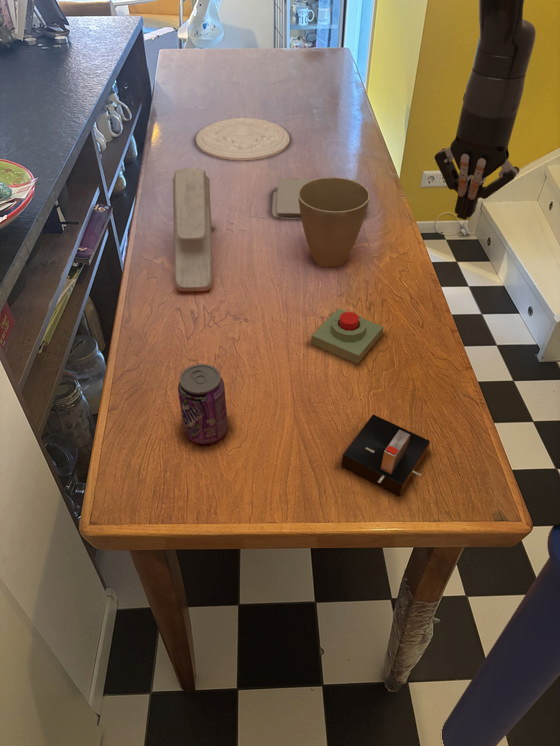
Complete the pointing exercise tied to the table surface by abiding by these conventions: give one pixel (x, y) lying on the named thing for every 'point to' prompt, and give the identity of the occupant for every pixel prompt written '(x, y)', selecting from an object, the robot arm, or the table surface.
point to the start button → (349, 321)
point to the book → (288, 198)
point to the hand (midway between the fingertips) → (463, 216)
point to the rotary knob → (395, 452)
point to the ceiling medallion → (242, 139)
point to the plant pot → (332, 217)
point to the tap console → (370, 450)
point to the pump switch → (347, 337)
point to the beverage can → (203, 403)
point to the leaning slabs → (192, 230)
